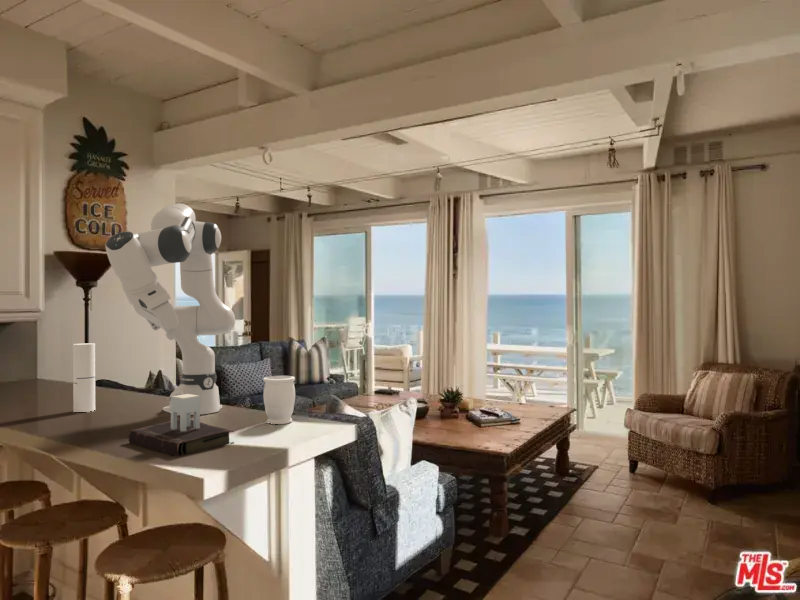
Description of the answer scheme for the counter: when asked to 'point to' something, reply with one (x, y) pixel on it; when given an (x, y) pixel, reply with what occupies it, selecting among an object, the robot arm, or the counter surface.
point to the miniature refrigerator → (84, 377)
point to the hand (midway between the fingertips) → (164, 333)
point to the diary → (179, 437)
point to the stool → (185, 410)
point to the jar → (279, 398)
